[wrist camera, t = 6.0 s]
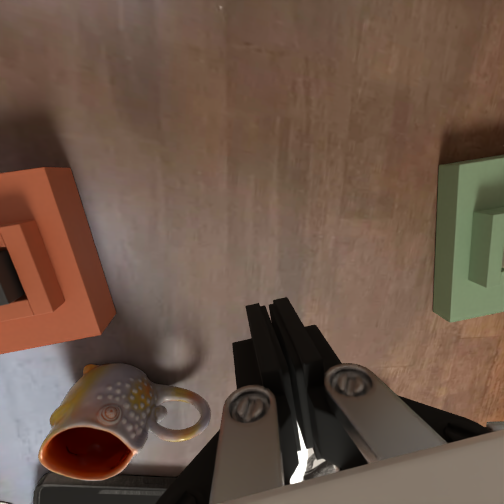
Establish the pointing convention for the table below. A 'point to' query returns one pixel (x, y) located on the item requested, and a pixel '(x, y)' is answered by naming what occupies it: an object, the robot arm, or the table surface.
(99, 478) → the mug
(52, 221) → the terracotta block
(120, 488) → the phone
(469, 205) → the green block
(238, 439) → the robot arm
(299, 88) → the table surface
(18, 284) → the black key
